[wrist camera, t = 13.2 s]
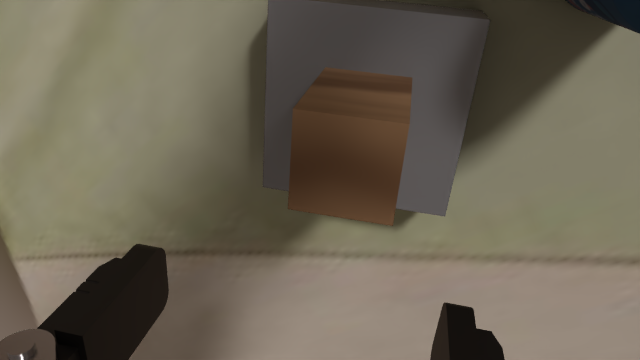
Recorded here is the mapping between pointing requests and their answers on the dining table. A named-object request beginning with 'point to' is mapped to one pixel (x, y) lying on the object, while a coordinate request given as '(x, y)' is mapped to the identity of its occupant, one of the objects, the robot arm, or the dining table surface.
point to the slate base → (383, 58)
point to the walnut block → (350, 145)
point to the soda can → (612, 11)
